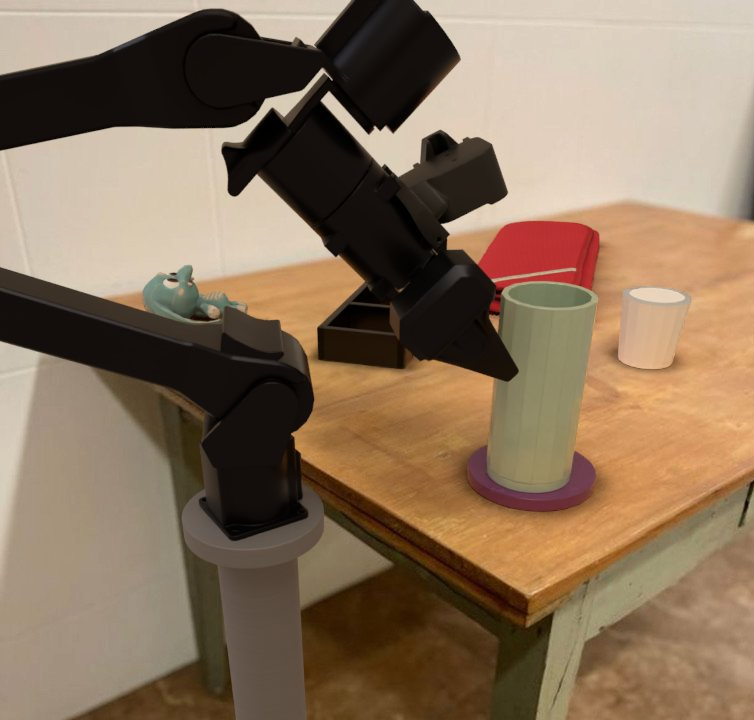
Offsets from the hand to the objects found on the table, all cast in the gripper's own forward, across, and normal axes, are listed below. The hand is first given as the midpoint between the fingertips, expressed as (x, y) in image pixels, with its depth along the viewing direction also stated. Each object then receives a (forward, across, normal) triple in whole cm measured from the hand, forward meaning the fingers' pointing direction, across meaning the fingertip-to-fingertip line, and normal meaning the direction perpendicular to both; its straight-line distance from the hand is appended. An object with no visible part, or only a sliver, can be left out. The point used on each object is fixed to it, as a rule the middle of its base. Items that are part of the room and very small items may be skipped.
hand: (494, 352), depth 58 cm
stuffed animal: (-9, +42, +24) cm, 49 cm away
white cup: (+25, +23, -9) cm, 35 cm away
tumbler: (+9, -1, +4) cm, 10 cm away
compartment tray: (+6, +34, +9) cm, 36 cm away
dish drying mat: (+24, +57, -9) cm, 62 cm away
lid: (+10, 0, +5) cm, 11 cm away
